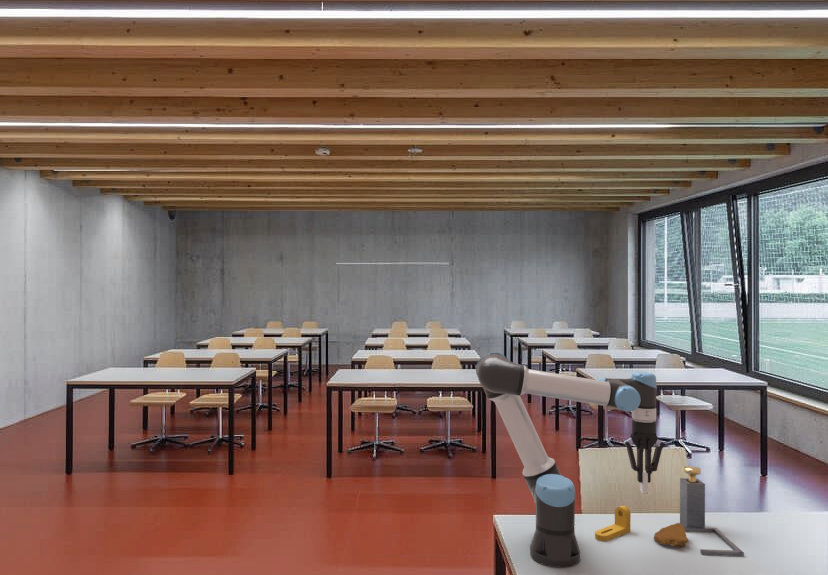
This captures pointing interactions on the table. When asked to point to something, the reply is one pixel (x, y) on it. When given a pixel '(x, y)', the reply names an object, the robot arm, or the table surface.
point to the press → (700, 516)
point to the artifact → (672, 535)
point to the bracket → (616, 525)
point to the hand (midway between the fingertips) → (644, 492)
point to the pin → (692, 473)
